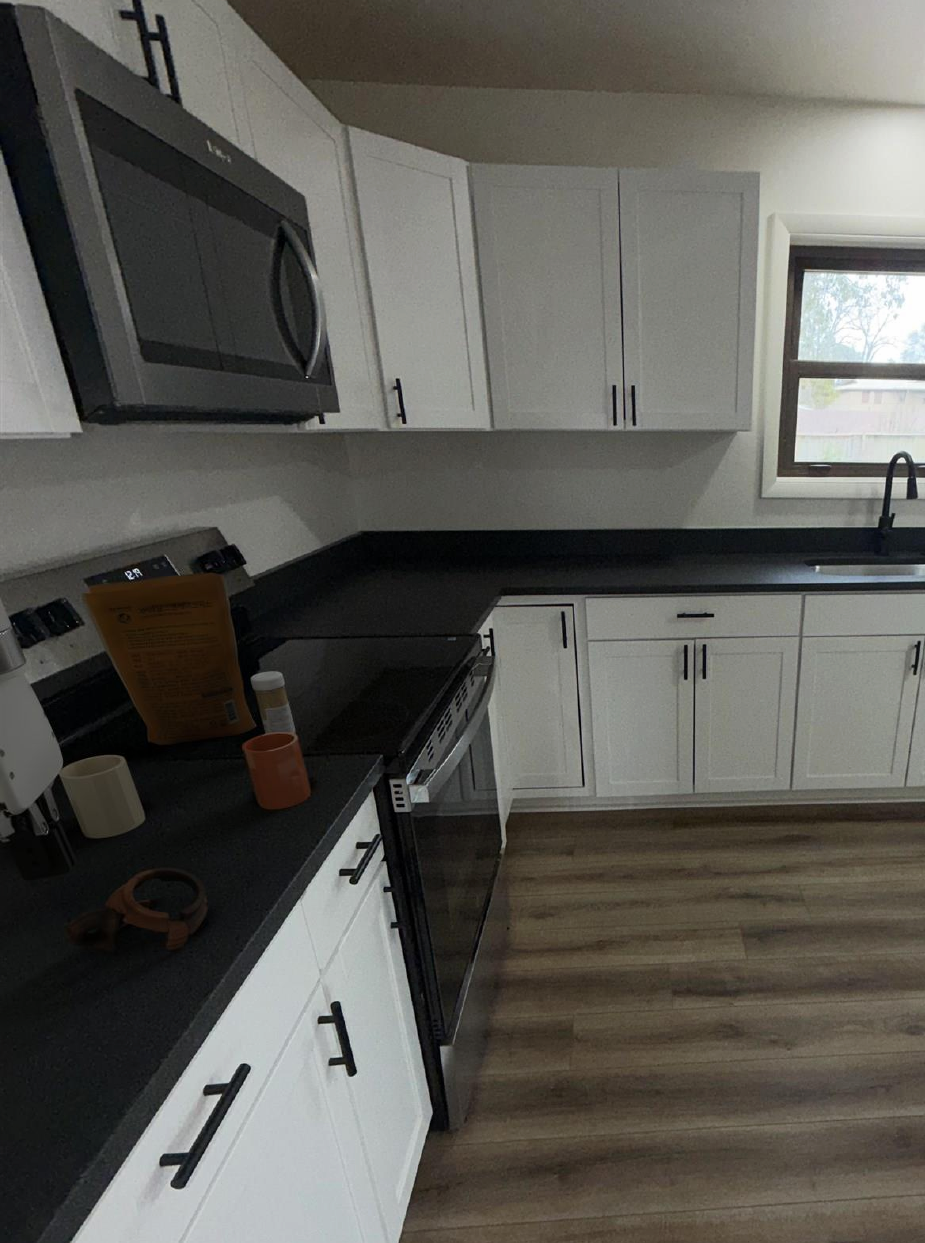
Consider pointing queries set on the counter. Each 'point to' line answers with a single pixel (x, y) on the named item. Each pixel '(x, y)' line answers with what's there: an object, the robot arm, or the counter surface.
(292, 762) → the terracotta cup
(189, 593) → the pancake mix bag
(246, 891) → the counter surface
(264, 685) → the sprinkles bottle
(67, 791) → the cream cup
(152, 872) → the reddish-brown ring-shaped piece
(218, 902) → the counter surface
